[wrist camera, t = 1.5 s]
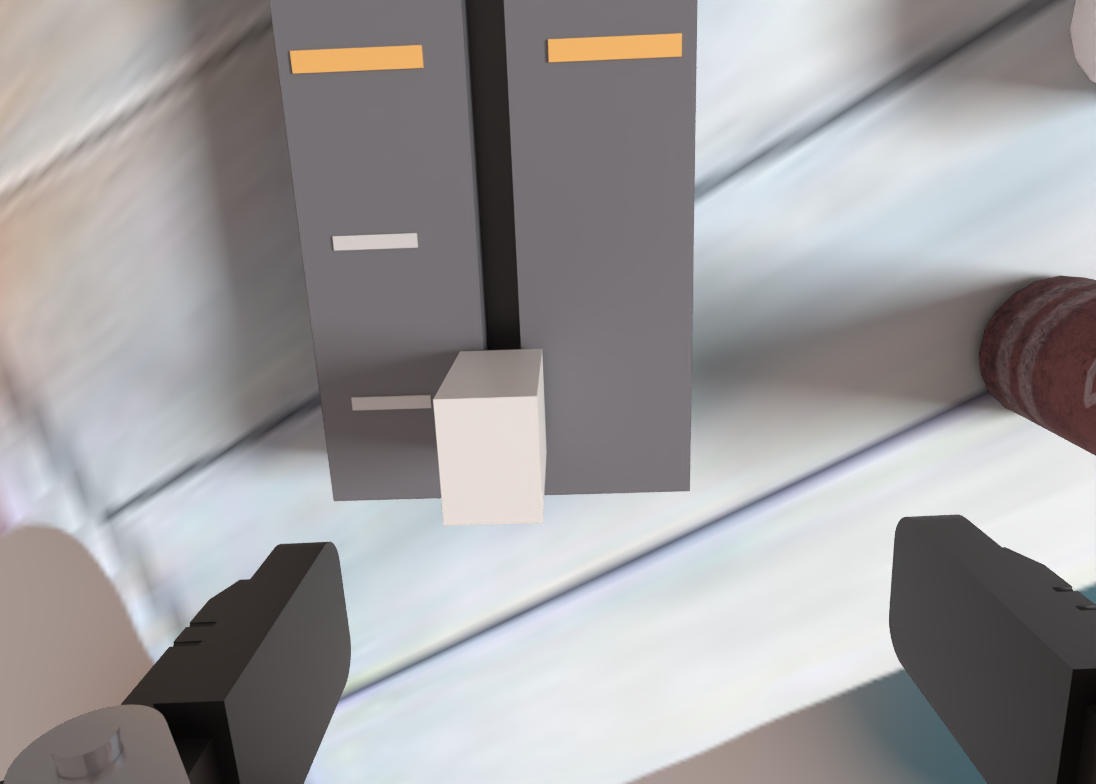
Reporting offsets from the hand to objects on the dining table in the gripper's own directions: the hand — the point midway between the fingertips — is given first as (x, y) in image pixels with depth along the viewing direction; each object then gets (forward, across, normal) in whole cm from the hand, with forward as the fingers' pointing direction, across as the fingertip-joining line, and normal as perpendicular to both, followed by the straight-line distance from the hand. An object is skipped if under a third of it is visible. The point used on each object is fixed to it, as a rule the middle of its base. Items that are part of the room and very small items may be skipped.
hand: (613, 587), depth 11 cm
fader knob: (+19, +3, +2) cm, 20 cm away
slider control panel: (+23, +3, -6) cm, 23 cm away
